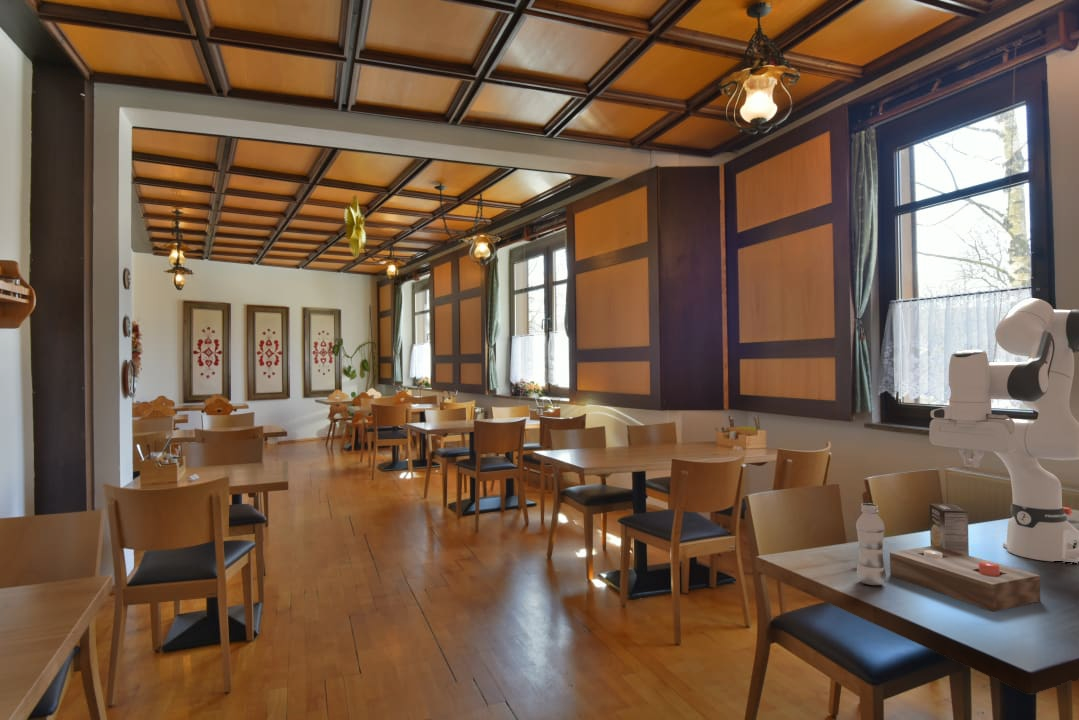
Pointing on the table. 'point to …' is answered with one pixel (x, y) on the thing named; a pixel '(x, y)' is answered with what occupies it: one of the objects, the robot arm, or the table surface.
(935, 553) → the plug
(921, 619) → the table surface
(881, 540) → the plastic bottle
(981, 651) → the table surface
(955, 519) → the coffee box
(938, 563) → the plug housing
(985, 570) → the red plug
